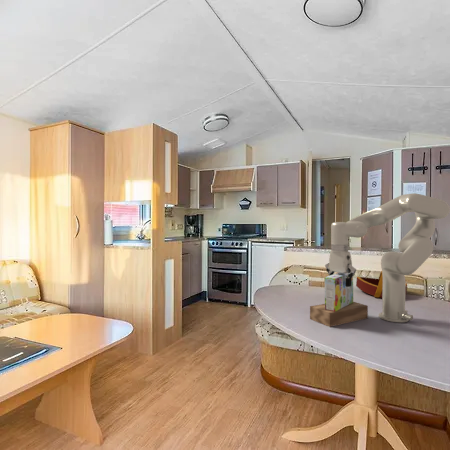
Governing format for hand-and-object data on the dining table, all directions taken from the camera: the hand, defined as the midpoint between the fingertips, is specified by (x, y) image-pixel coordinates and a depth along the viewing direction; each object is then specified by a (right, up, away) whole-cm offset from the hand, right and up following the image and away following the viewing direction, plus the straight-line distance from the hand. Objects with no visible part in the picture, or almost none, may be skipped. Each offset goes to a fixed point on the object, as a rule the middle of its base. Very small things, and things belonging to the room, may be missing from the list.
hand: (340, 284), depth 146 cm
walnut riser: (0, -16, 0) cm, 16 cm away
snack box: (0, -10, 0) cm, 10 cm away
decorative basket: (+45, -16, +51) cm, 70 cm away
